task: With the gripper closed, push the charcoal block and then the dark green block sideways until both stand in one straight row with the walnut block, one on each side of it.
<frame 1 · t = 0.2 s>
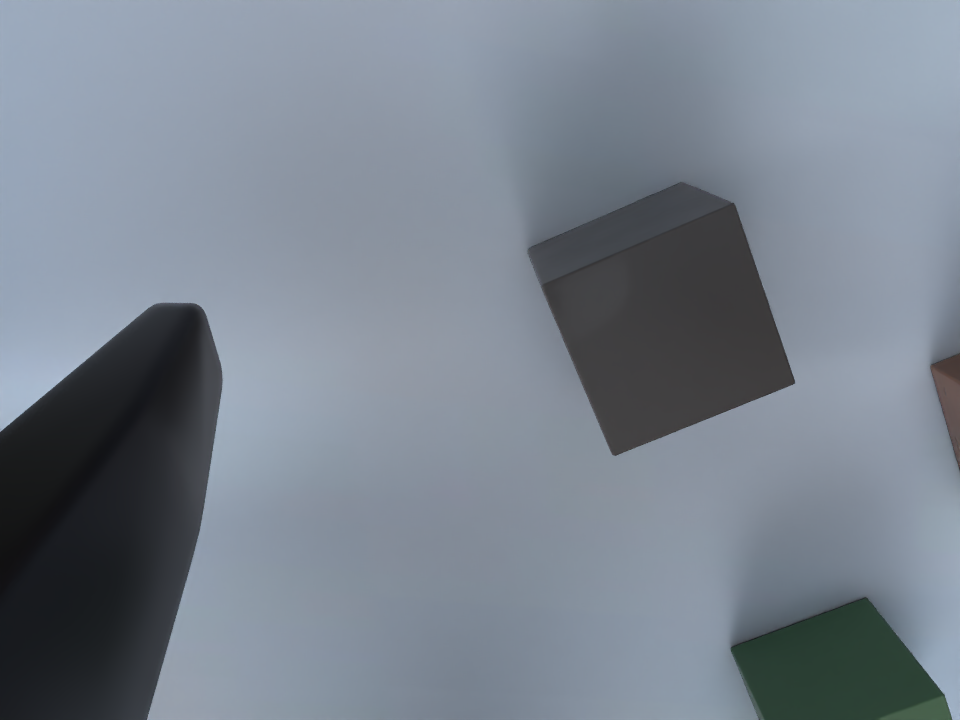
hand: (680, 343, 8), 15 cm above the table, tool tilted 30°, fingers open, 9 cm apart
green block: (818, 677, 27), on the table
charcoal block: (633, 290, 23), on the table
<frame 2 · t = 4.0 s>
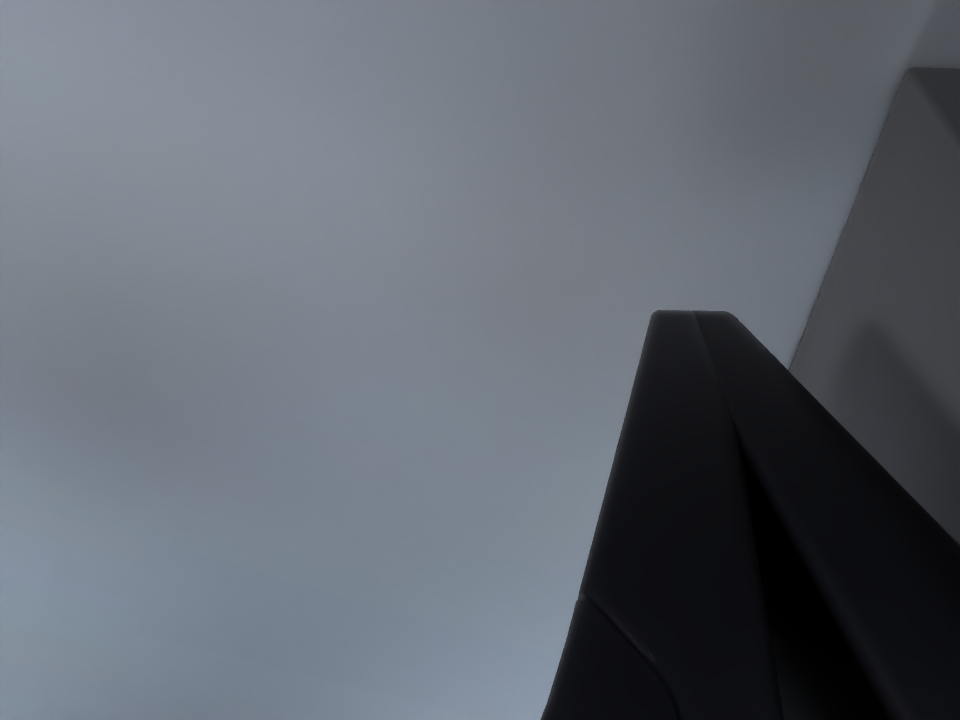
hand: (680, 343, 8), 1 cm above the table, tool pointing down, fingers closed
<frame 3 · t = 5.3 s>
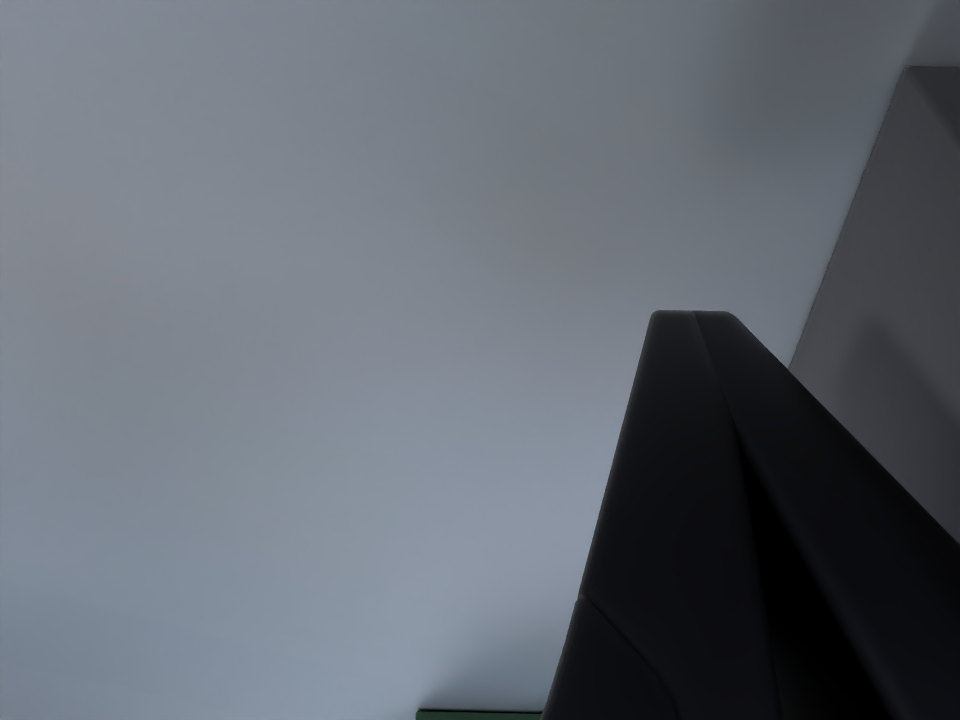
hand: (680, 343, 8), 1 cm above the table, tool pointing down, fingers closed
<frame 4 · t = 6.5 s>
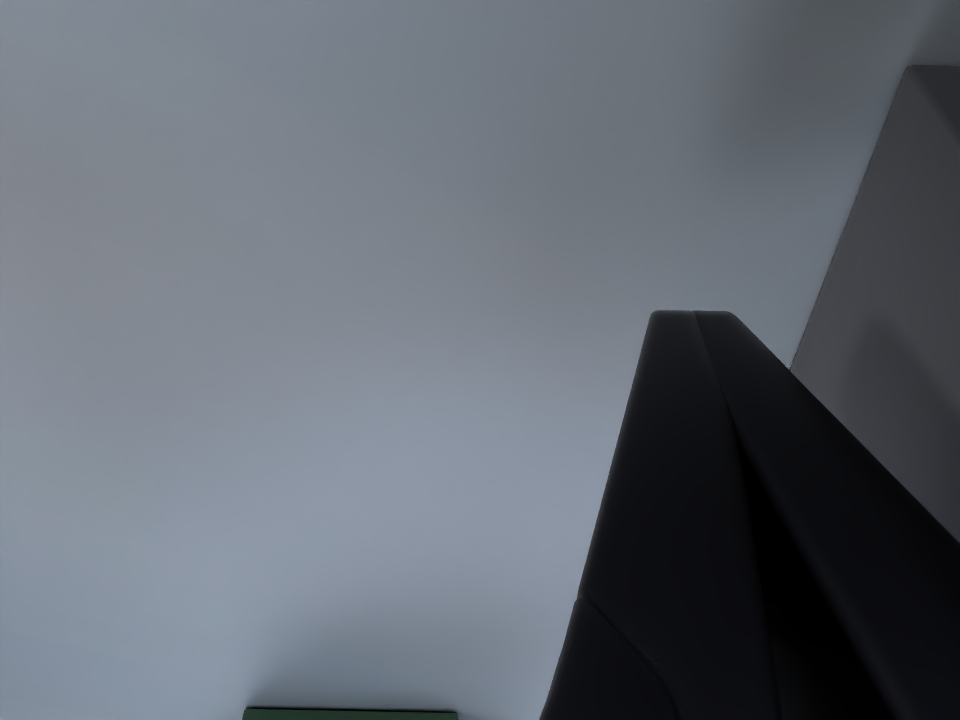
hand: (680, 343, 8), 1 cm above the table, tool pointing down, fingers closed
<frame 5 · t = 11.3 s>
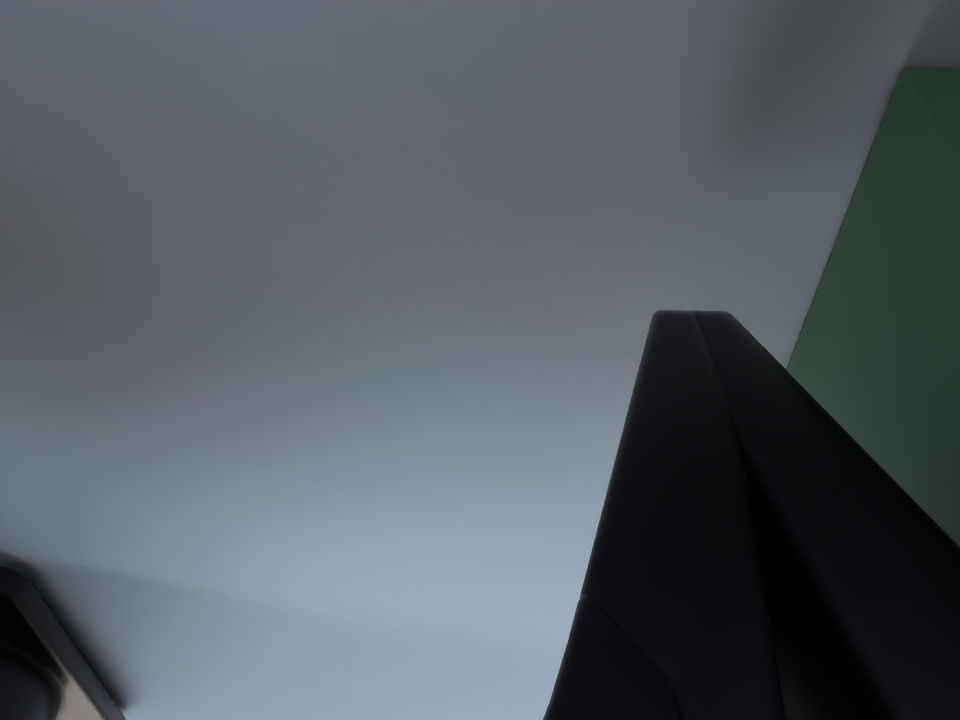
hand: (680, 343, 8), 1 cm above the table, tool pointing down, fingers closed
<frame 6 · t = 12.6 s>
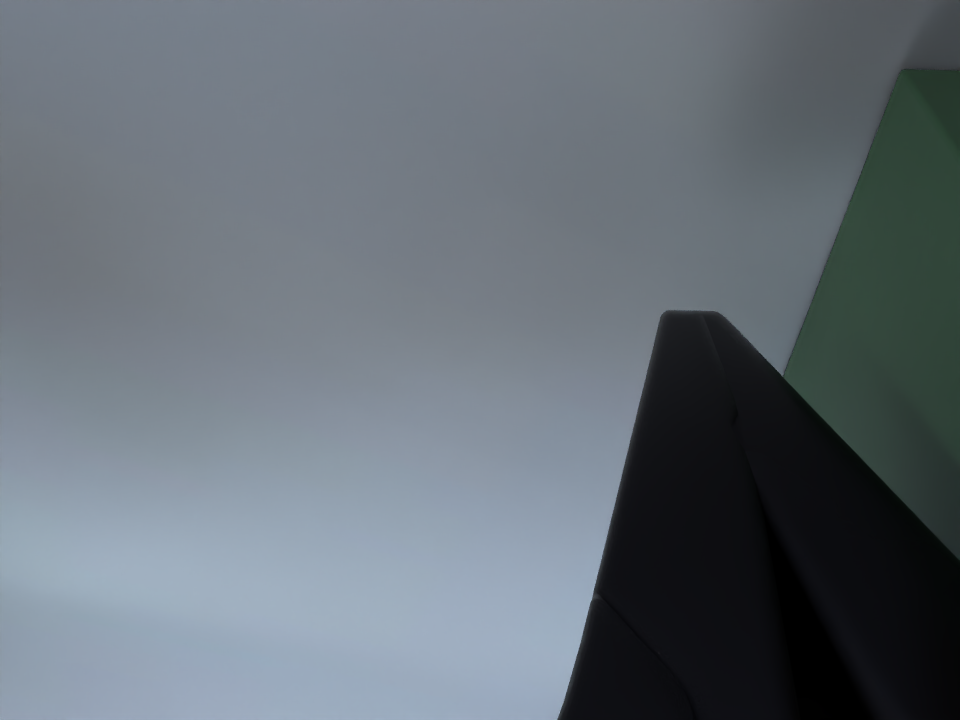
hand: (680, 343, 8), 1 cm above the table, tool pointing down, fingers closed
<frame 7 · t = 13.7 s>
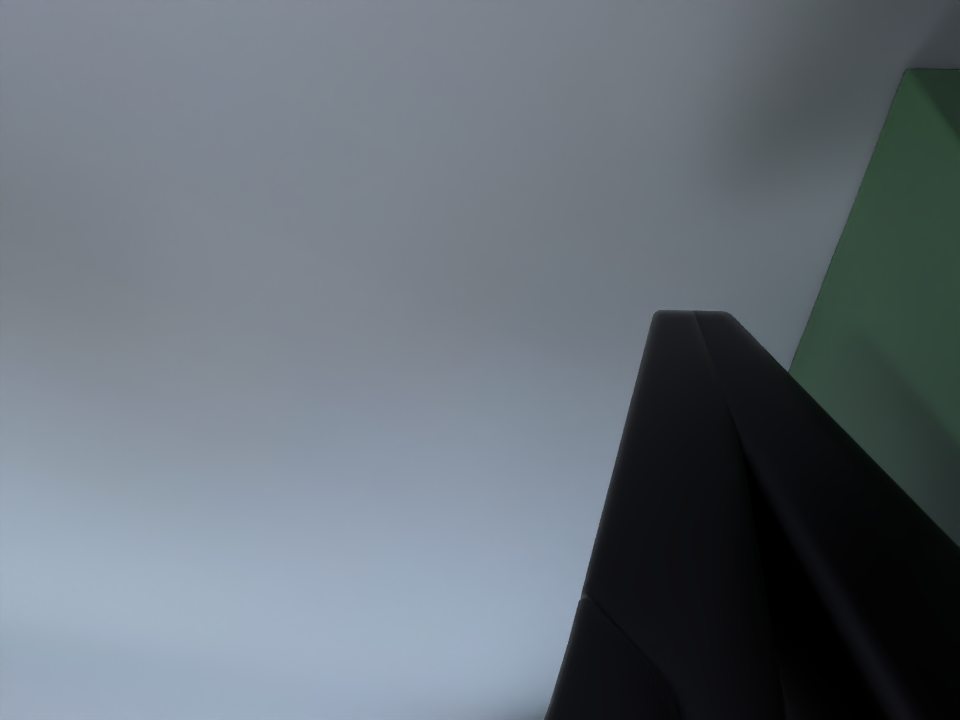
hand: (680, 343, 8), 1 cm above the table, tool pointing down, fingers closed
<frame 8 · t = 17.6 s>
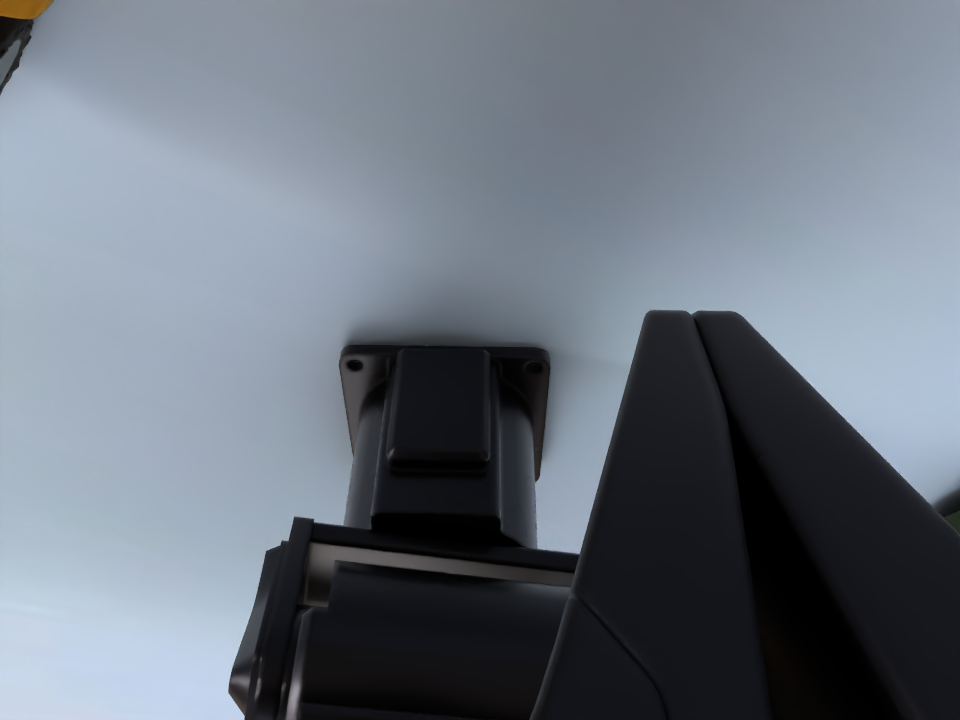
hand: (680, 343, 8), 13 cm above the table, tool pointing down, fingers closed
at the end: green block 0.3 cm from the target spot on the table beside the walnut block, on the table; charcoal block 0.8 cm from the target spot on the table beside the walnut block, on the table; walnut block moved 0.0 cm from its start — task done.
